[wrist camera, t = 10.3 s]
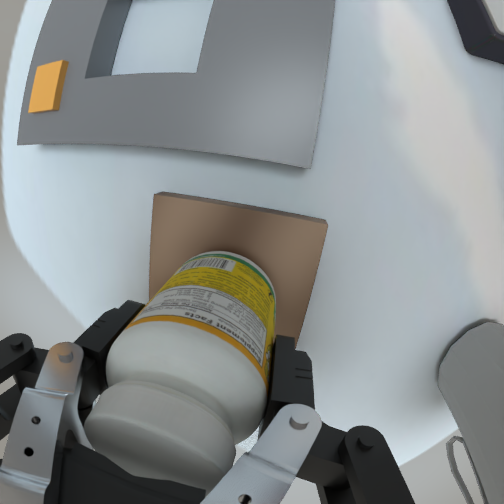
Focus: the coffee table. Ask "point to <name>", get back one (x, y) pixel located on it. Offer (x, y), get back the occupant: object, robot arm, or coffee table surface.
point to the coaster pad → (240, 247)
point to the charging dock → (184, 82)
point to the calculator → (481, 27)
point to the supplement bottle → (189, 374)
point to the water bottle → (477, 406)
